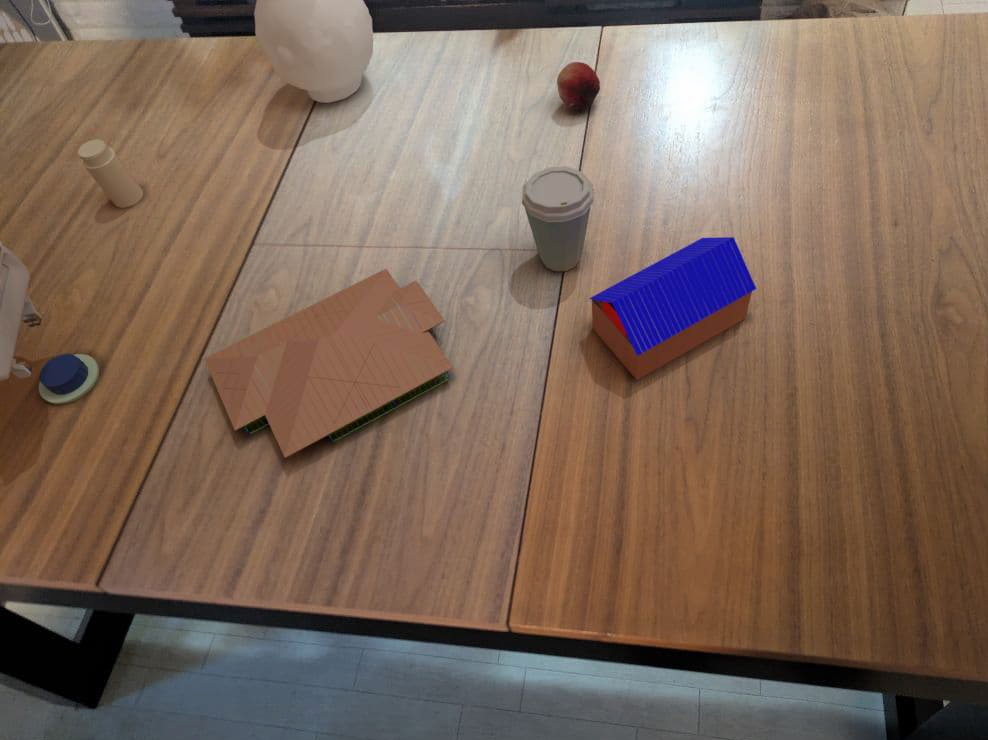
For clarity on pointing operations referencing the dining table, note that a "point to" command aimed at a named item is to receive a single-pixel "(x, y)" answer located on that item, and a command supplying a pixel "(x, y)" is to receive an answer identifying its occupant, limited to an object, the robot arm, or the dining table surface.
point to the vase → (316, 44)
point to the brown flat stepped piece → (332, 362)
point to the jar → (110, 173)
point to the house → (674, 304)
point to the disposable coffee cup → (558, 214)
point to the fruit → (578, 85)
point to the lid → (63, 374)
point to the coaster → (78, 393)
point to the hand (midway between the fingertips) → (32, 347)
